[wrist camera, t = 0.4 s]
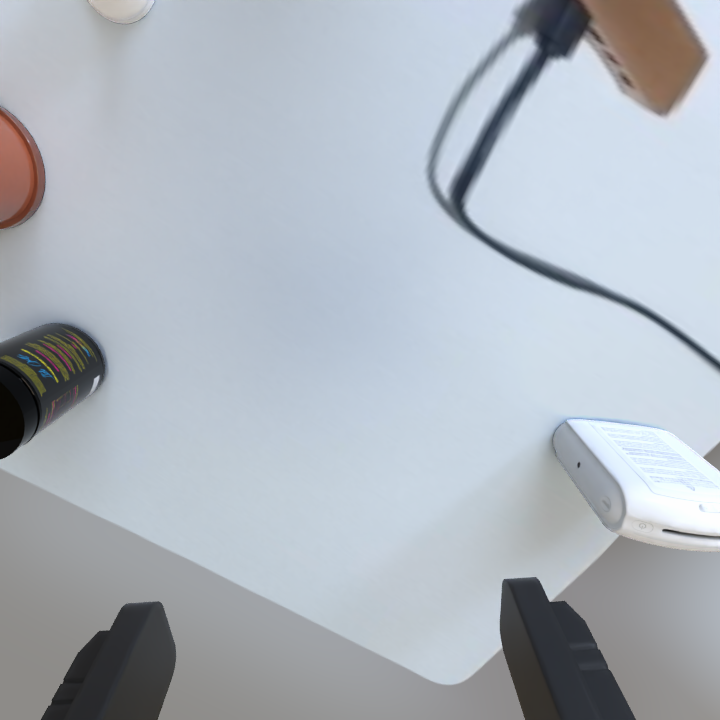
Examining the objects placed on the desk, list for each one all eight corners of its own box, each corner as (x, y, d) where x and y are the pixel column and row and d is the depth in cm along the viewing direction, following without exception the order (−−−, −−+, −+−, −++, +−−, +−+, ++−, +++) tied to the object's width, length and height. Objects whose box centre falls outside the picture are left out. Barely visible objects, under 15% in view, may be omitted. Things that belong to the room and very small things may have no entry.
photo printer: (545, 456, 42) (614, 558, 30) (557, 412, 41) (635, 502, 29) (657, 468, 42) (769, 573, 31) (674, 425, 41) (797, 519, 29)
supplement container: (40, 305, 38) (-74, 345, 28) (120, 344, 39) (38, 396, 29) (17, 374, 40) (-97, 433, 30) (94, 409, 41) (8, 478, 31)
